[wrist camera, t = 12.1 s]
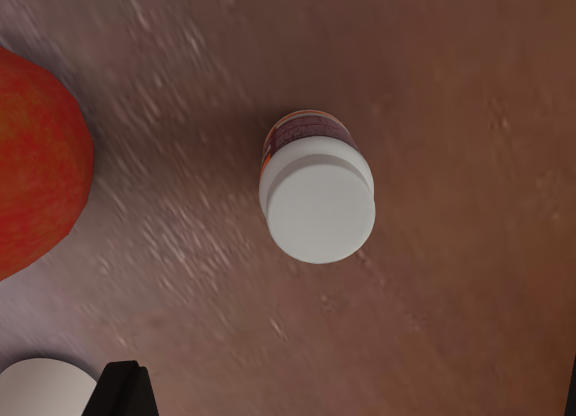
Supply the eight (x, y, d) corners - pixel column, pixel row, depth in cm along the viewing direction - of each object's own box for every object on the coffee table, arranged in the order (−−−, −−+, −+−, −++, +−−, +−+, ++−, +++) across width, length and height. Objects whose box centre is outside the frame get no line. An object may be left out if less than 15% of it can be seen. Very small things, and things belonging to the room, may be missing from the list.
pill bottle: (250, 124, 24) (236, 176, 16) (339, 96, 24) (369, 136, 16) (278, 205, 26) (277, 287, 18) (361, 181, 25) (398, 254, 18)
